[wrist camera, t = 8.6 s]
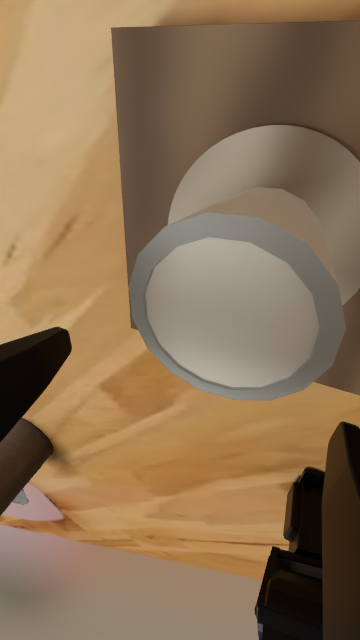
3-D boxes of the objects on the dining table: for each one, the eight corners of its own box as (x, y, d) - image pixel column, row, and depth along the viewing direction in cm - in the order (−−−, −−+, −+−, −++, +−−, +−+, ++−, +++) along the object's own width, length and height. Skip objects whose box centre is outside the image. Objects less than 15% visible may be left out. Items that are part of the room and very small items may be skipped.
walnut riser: (553, 34, 10) (631, 8, 8) (365, 365, 20) (372, 405, 17) (144, 40, 15) (104, 25, 12) (149, 307, 24) (127, 331, 22)
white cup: (372, 196, 12) (407, 264, 7) (300, 326, 16) (286, 431, 11) (211, 153, 13) (133, 181, 8) (184, 283, 17) (121, 358, 12)
